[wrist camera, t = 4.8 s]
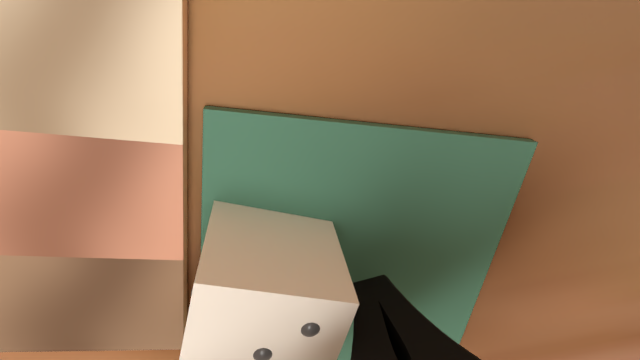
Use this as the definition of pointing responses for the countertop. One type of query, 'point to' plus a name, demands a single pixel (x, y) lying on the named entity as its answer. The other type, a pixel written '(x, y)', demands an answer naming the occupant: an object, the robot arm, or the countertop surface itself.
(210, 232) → the die
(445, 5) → the countertop surface
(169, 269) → the track
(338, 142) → the dice mat
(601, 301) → the countertop surface
